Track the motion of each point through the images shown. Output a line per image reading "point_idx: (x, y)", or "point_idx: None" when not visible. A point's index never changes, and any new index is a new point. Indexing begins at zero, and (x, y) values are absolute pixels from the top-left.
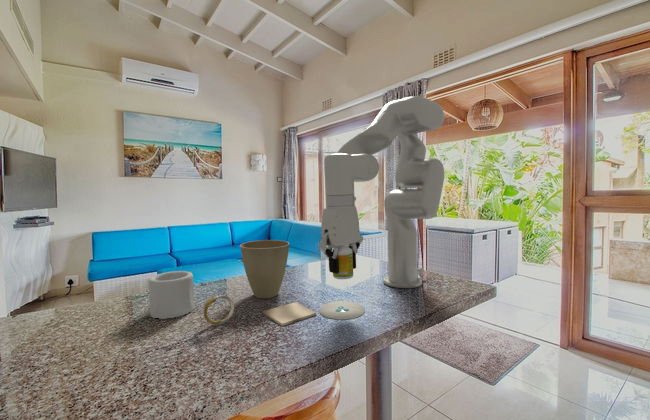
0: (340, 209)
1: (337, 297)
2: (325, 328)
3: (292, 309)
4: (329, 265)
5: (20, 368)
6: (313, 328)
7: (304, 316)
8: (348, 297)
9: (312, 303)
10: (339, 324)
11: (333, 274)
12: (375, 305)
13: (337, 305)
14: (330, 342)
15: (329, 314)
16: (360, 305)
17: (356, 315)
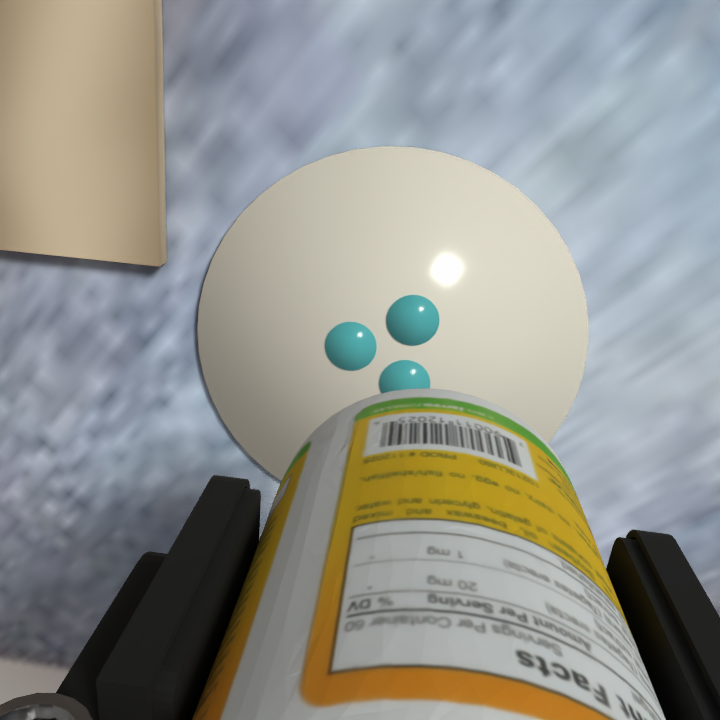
0: None
1: (632, 80)
2: (85, 466)
3: (24, 34)
4: (123, 602)
5: None
6: (21, 412)
7: (38, 253)
8: (700, 175)
9: (316, 5)
10: (194, 491)
11: (283, 477)
12: (653, 479)
13: (432, 262)
14: (10, 588)
15: (242, 346)
16: (562, 409)
17: None
